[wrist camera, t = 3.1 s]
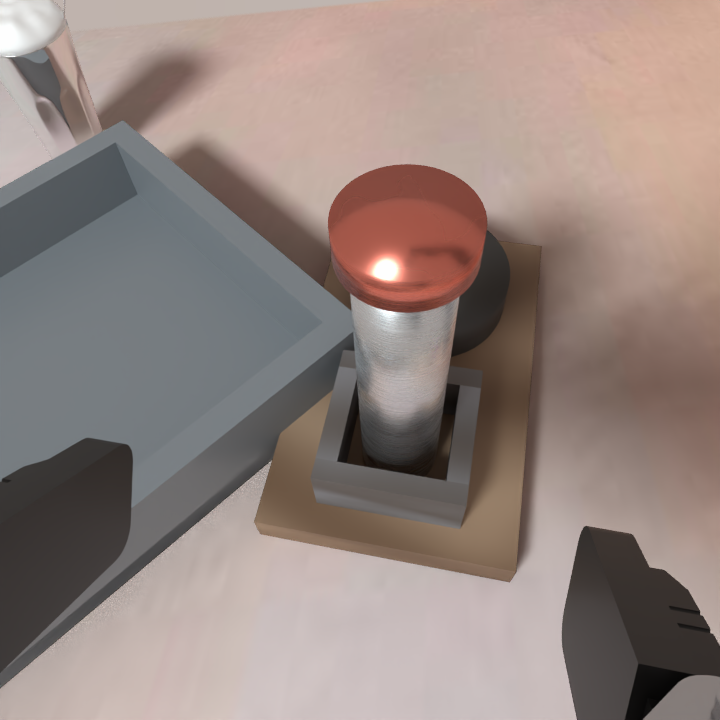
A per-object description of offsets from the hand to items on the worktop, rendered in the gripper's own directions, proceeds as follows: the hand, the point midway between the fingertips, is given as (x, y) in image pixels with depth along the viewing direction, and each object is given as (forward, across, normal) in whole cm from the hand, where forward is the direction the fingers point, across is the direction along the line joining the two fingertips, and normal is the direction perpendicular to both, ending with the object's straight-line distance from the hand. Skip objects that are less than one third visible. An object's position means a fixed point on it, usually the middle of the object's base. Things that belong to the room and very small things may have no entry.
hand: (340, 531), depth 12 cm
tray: (+17, +15, +4) cm, 23 cm away
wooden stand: (+19, 0, +2) cm, 19 cm away
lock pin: (+15, 0, +4) cm, 16 cm away
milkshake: (+28, +22, -6) cm, 36 cm away
